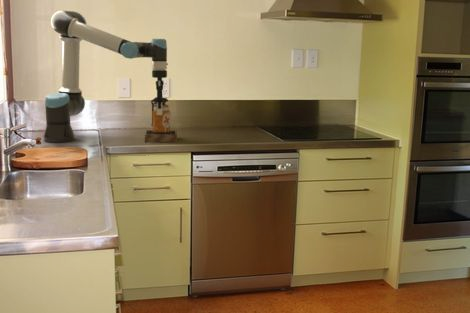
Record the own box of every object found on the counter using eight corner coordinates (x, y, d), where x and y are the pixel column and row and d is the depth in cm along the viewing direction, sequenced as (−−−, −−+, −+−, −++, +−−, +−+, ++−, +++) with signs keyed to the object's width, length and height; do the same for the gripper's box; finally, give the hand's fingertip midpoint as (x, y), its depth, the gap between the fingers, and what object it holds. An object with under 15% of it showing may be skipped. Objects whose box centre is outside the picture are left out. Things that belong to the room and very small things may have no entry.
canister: (161, 137, 278) (161, 98, 274) (146, 135, 284) (146, 96, 281) (173, 135, 285) (173, 97, 281) (158, 133, 291) (158, 95, 288)
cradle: (145, 142, 277) (145, 134, 276) (146, 137, 291) (146, 130, 290) (176, 142, 279) (176, 134, 278) (176, 137, 293) (176, 130, 292)
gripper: (166, 71, 267) (166, 116, 272) (167, 68, 288) (167, 110, 293) (151, 70, 266) (151, 116, 271) (152, 68, 287) (153, 110, 292)
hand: (159, 113), depth 282 cm, fingers closed on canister, 9 cm apart
